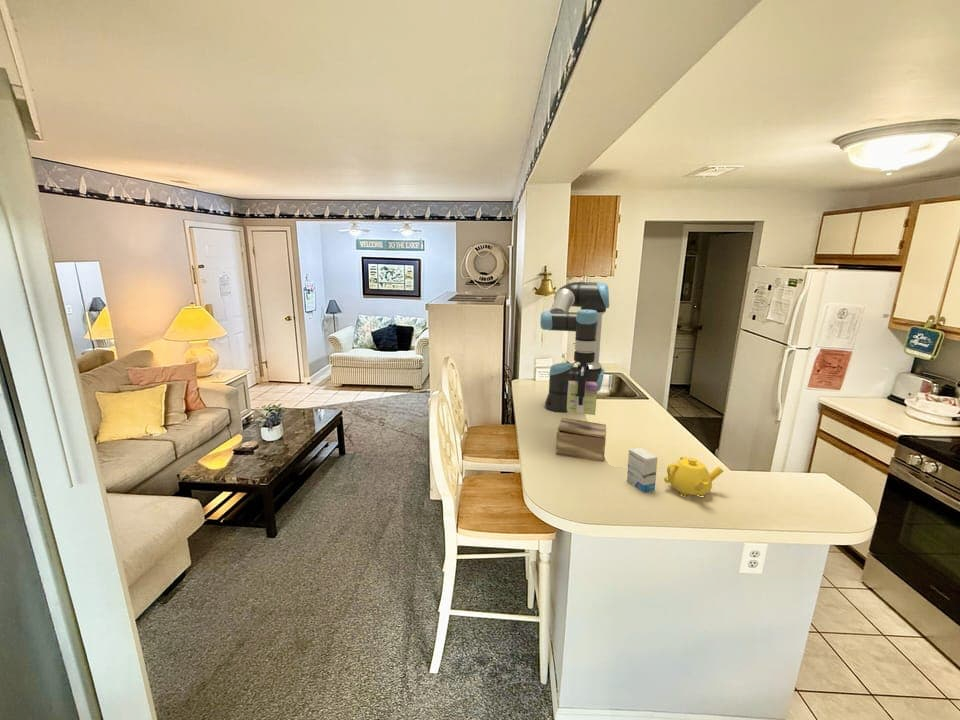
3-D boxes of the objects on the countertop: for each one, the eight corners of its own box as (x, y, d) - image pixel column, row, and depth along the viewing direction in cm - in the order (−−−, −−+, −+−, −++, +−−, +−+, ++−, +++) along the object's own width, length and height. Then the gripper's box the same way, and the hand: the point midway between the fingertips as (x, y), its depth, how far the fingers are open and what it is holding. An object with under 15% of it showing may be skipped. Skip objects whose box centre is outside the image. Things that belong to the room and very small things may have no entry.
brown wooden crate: (559, 442, 173) (560, 422, 171) (604, 448, 168) (606, 427, 166) (555, 454, 162) (556, 432, 160) (603, 461, 156) (605, 438, 155)
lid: (561, 419, 171) (561, 417, 171) (605, 426, 166) (606, 424, 166) (557, 429, 159) (557, 427, 159) (604, 438, 154) (605, 435, 154)
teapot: (703, 508, 126) (708, 474, 124) (659, 490, 136) (662, 458, 134) (721, 492, 135) (726, 460, 133) (678, 477, 145) (682, 447, 143)
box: (593, 410, 164) (595, 381, 161) (595, 415, 158) (597, 385, 156) (566, 409, 165) (567, 380, 162) (567, 413, 159) (569, 384, 157)
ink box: (655, 490, 136) (659, 457, 133) (642, 493, 134) (646, 459, 132) (637, 478, 144) (640, 446, 141) (625, 480, 142) (628, 448, 140)
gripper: (576, 346, 167) (573, 401, 172) (571, 355, 149) (568, 416, 154) (596, 347, 165) (592, 403, 169) (593, 356, 147) (589, 419, 151)
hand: (580, 409), depth 161 cm, fingers closed on box, 6 cm apart
